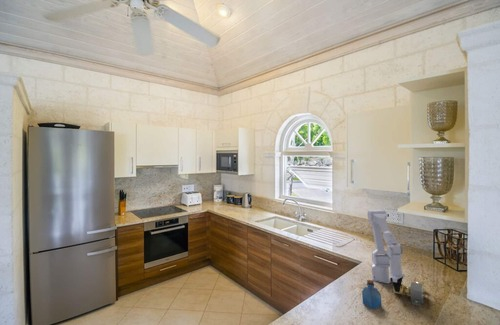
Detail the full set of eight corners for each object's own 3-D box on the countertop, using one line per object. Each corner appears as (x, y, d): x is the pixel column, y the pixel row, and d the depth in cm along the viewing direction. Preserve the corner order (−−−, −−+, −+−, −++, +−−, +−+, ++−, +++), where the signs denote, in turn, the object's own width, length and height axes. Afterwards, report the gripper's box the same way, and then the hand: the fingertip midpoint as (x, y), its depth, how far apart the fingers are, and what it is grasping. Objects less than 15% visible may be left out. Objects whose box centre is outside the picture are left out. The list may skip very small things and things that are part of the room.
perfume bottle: (362, 303, 125) (361, 280, 126) (371, 300, 127) (369, 277, 128) (372, 309, 119) (370, 285, 120) (381, 306, 121) (379, 282, 122)
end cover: (393, 294, 131) (392, 284, 132) (394, 290, 136) (393, 281, 136) (412, 298, 126) (411, 288, 126) (413, 294, 130) (412, 284, 130)
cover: (414, 291, 135) (413, 283, 135) (413, 287, 139) (413, 279, 139) (425, 293, 132) (424, 285, 132) (424, 289, 136) (424, 281, 136)
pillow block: (410, 304, 122) (409, 291, 122) (412, 291, 135) (411, 279, 135) (422, 307, 119) (421, 293, 119) (423, 293, 132) (422, 281, 132)
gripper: (402, 271, 125) (404, 298, 124) (405, 262, 136) (407, 287, 136) (387, 269, 129) (389, 294, 129) (391, 260, 141) (393, 284, 140)
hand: (397, 290), depth 132 cm, fingers closed on end cover, 3 cm apart
